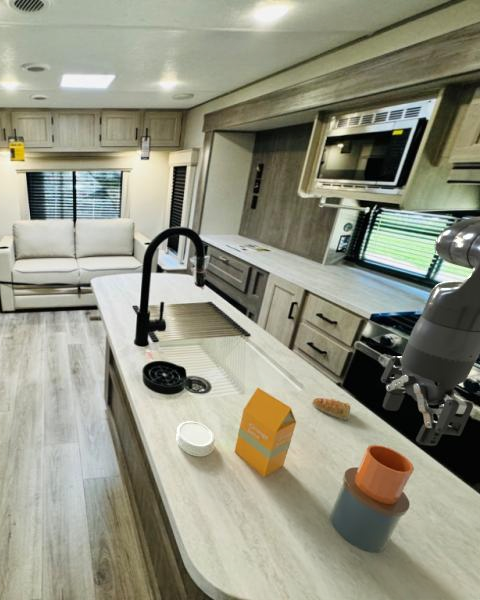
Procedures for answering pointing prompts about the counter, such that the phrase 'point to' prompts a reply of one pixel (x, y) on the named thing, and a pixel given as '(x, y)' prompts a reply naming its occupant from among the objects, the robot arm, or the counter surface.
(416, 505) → the counter surface
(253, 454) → the orange juice
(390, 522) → the jar
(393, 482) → the cup
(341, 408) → the pastry
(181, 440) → the white round tub
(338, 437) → the counter surface
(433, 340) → the robot arm
